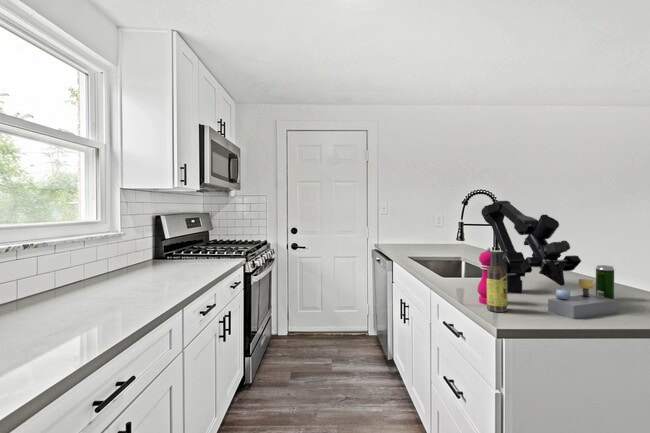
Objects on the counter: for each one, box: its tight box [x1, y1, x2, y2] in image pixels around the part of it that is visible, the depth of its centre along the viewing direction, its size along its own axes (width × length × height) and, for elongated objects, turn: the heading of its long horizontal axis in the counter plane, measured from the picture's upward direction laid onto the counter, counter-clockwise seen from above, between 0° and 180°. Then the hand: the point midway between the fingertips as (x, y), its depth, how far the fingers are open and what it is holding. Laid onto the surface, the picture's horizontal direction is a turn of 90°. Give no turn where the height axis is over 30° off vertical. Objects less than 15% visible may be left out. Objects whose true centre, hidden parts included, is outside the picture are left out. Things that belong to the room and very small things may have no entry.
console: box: [547, 293, 617, 320], centre depth 123 cm, size 18×9×4 cm, turn 108°
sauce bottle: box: [486, 249, 508, 313], centre depth 126 cm, size 6×6×20 cm
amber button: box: [578, 278, 594, 298], centre depth 126 cm, size 4×4×6 cm
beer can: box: [595, 264, 615, 300], centre depth 137 cm, size 5×5×12 cm
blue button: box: [555, 287, 571, 300], centre depth 123 cm, size 4×4×6 cm
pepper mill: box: [477, 246, 491, 305], centre depth 136 cm, size 7×7×20 cm
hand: (563, 285), depth 123 cm, fingers closed
